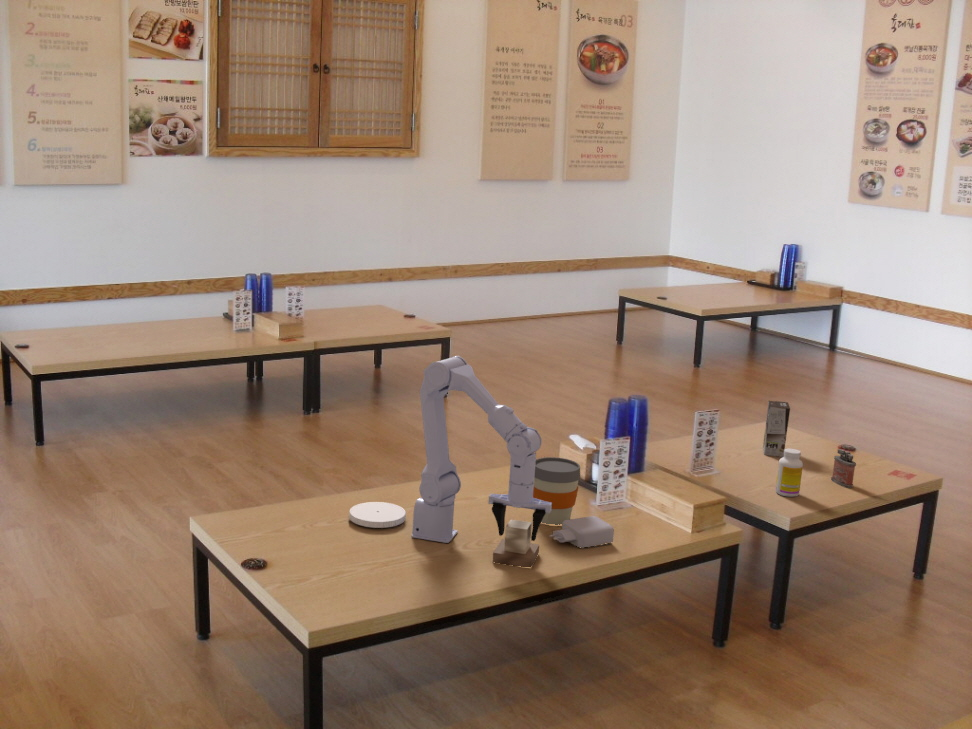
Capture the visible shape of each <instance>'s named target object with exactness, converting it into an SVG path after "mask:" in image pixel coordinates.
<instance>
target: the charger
mask: <svg viewBox="0 0 972 729" xmlns="http://www.w3.org/2000/svg"><path fill="white" fill-rule="evenodd" d="M614 532H615V529H614V527H613V526H612V525H611V524H609V523H608V522H606V521H604V519H602V518H599V516H597V515H592V516H585V517H576V518H572V519H571V518H570V520H564V521H563V523H562V526H561V529H558V530H553V532H552V533H553V534H550V535H549V537H550V538H551V537H553V540H557V541H558V542H559V543H561V544H562V543H567V542H568V543H570V542H571V543H570V544H572V543H573V544H574V545H573V544H572V545H573V546H575V545H576V546H577V547H576V546H575V547H576V548H578V547H581V548H582V549H585V548H584V547H588V548H591V547H590V546H594V547H596V546H595V545H600V546H602V545H601V544H605V543H611V542H614V534H615V533H614ZM569 541H570V542H569ZM581 548H580V549H581Z"/></svg>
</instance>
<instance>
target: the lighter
mask: <svg viewBox="0 0 972 729" xmlns="http://www.w3.org/2000/svg"><path fill="white" fill-rule="evenodd" d="M837 454H839V455H834V458H833V459H834V461H833V469H832V475H831V477H830V478H831V479H830V481H831V480H832V481H831V482H833V483H835V484H837V485H838V486H841V487H843V488H846V489H852V487H854V484H853V483H854V482H853V481H854V476H855V469H856V466H857V463H856V462H855V461H854V460H853V459H854V454H852V453H851V452H850V451H846V450H843V449H841V448H838V449H837Z"/></svg>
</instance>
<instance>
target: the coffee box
mask: <svg viewBox="0 0 972 729" xmlns="http://www.w3.org/2000/svg"><path fill="white" fill-rule="evenodd" d="M767 403H768V404H767V411H766V419H765V427H764V434H763V435H764V436H763V442H762V449H763V450H762V451H763V454H764V456H772V457H780V458H782V457H784V449H786V440H787V434H788V426H789V419H790V412H791V407H790V404H789V402H787V401H778V400H768V402H767Z"/></svg>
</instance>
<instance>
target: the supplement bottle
mask: <svg viewBox="0 0 972 729" xmlns="http://www.w3.org/2000/svg"><path fill="white" fill-rule="evenodd" d="M801 452H802V451H801V450H799V449H795V448H785V449H784V457H780V459H779V461H778V467H777V475H776V483H775V492H776V494H778V495H780V496H782V497H786V498H787V497H789V498H794V497H798V496H799V495H800V490H801V482H802V473H803V468H804V464H803V461H802V460H801V459H800V458H801V455H802V454H801Z"/></svg>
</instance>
